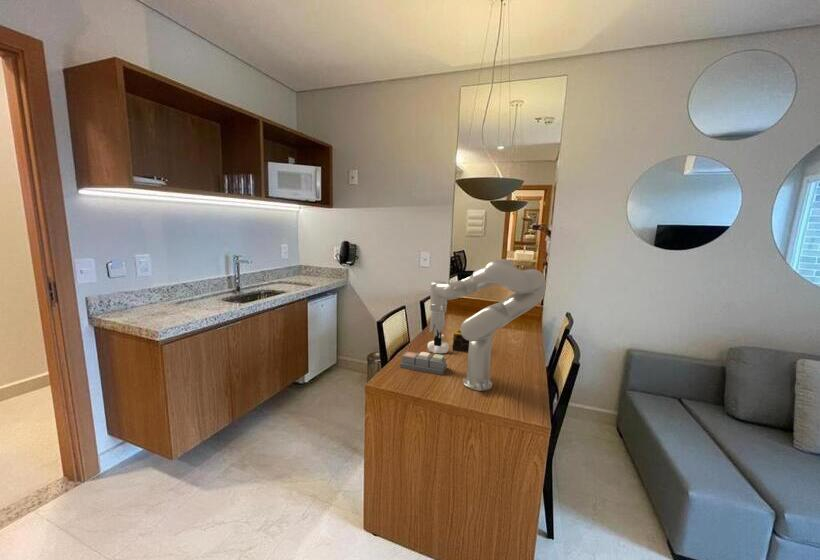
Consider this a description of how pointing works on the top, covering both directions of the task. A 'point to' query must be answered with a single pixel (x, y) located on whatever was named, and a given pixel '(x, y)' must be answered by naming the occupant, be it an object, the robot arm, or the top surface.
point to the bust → (438, 347)
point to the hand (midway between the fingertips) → (437, 345)
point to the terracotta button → (410, 354)
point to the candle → (459, 342)
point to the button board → (423, 364)
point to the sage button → (438, 358)
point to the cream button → (424, 355)
